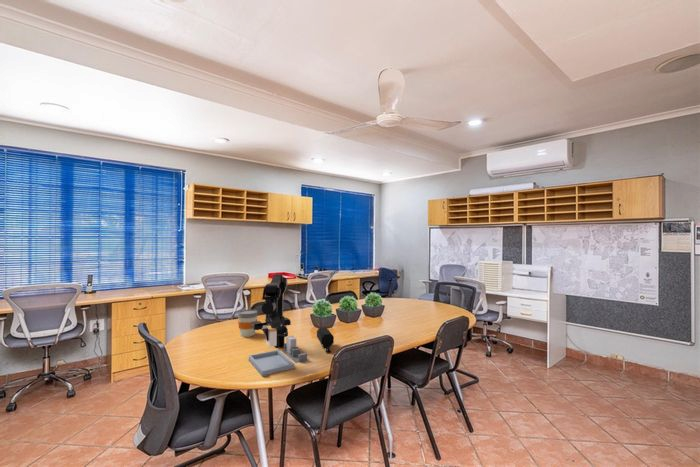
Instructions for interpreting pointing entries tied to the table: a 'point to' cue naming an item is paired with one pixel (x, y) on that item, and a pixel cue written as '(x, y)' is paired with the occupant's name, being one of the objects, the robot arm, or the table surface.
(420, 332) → the table surface
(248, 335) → the reusable coffee cup
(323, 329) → the security camera
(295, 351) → the clip block
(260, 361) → the tray
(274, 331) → the block
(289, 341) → the block
